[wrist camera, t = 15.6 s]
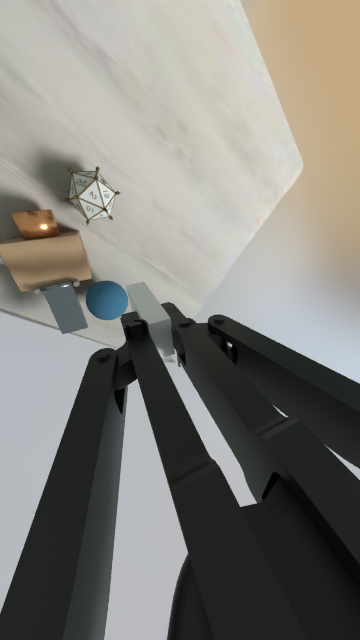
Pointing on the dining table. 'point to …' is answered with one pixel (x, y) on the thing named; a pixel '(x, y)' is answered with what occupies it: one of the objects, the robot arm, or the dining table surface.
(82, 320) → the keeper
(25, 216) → the pin
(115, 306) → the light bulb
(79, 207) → the game die
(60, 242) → the hitch block
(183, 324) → the robot arm
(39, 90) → the dining table surface
